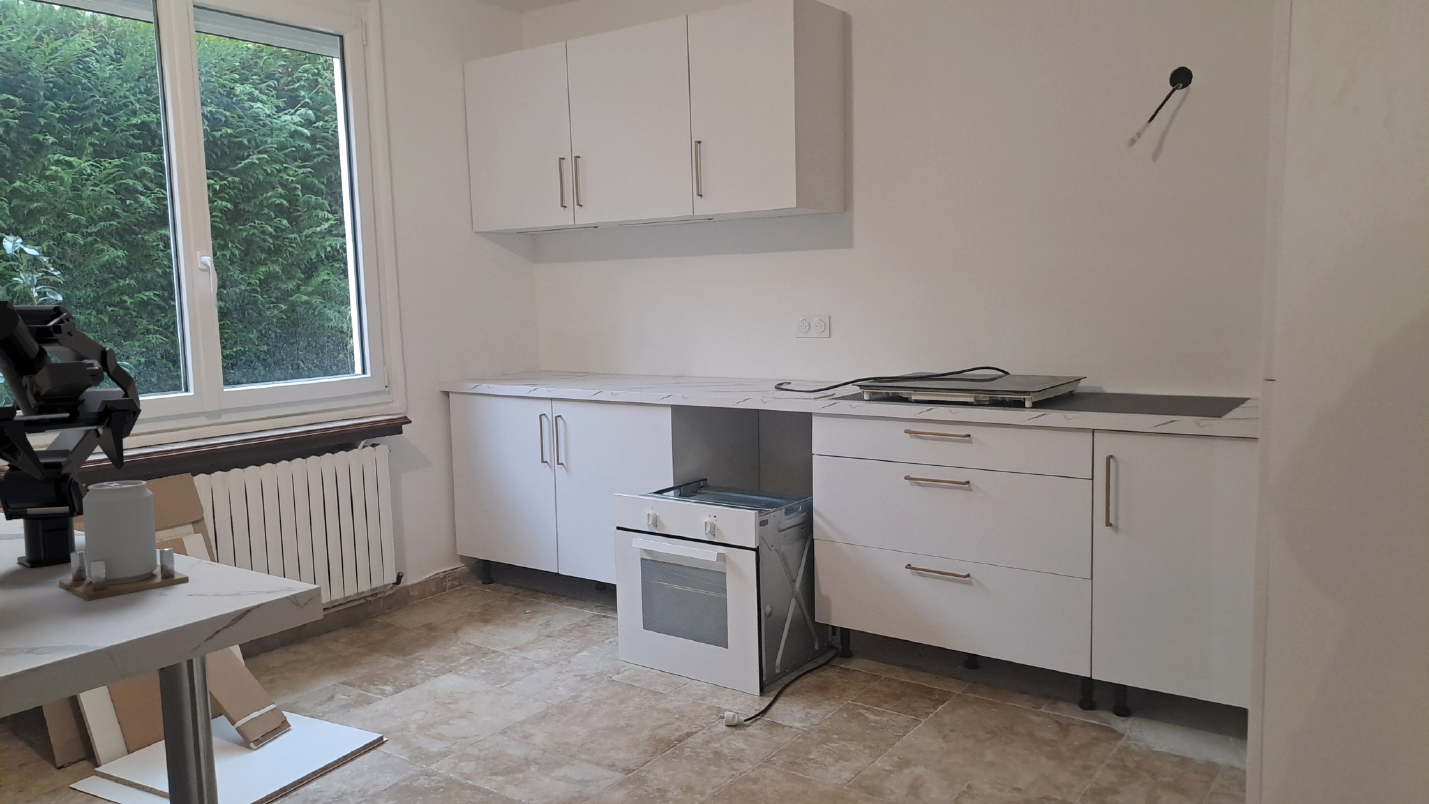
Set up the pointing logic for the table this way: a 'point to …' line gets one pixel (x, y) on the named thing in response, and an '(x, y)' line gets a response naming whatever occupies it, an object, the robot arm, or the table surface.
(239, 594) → the table surface
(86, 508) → the can
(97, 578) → the standoff plate
